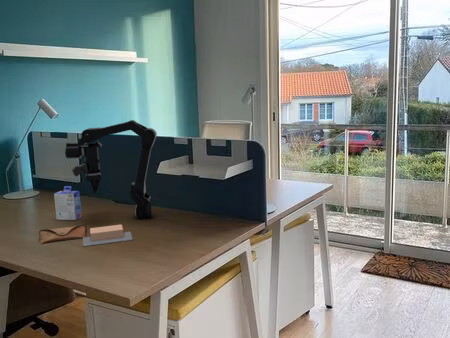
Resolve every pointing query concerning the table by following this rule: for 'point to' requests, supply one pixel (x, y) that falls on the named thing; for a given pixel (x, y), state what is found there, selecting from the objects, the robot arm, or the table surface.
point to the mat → (107, 240)
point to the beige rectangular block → (106, 232)
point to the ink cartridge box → (67, 204)
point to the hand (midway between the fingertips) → (95, 192)
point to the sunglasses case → (62, 234)
